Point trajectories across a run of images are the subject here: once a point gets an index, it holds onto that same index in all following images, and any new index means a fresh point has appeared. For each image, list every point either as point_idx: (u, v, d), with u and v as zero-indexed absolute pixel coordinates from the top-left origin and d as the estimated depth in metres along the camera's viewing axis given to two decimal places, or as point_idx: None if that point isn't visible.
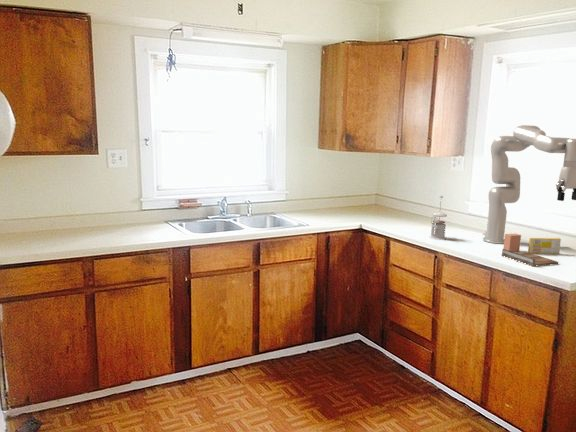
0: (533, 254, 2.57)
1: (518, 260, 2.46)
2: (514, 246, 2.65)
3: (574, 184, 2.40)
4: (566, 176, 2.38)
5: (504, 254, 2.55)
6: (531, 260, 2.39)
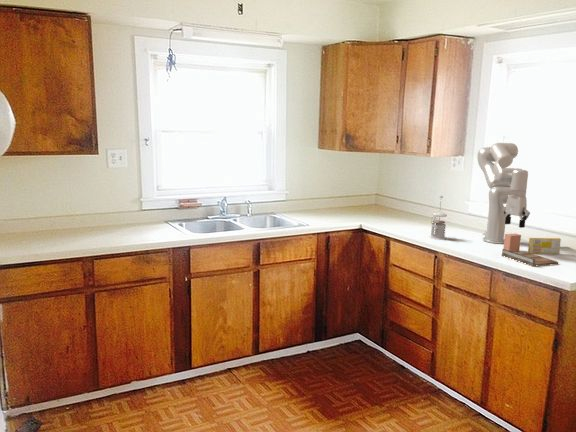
0: (533, 254, 2.57)
1: (518, 260, 2.46)
2: (514, 246, 2.65)
3: None
4: (525, 204, 2.59)
5: (504, 254, 2.55)
6: (531, 260, 2.39)
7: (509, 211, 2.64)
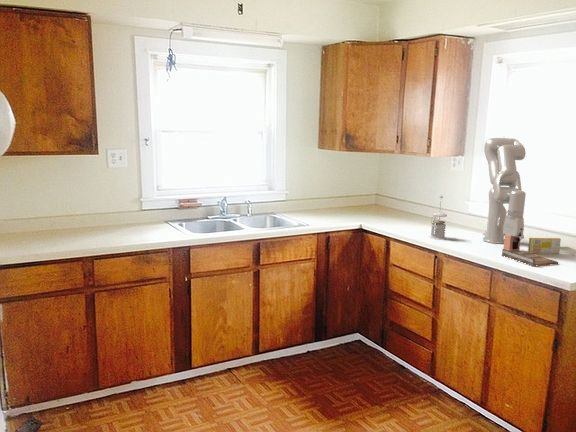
0: (533, 254, 2.57)
1: (518, 260, 2.46)
2: None
3: None
4: (523, 225, 2.61)
5: (504, 254, 2.55)
6: (531, 260, 2.39)
7: (506, 231, 2.66)
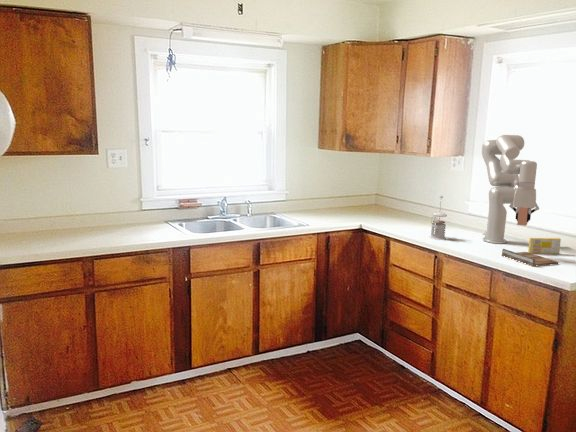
0: (533, 254, 2.57)
1: (518, 260, 2.46)
2: None
3: None
4: None
5: (504, 254, 2.55)
6: (531, 260, 2.39)
7: (520, 204, 2.54)
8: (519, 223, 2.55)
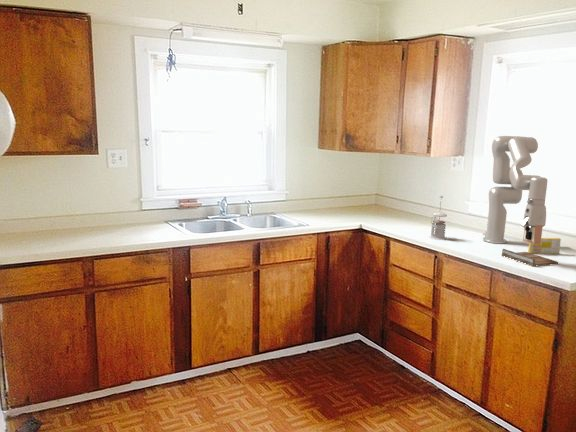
0: (533, 254, 2.57)
1: (518, 260, 2.46)
2: None
3: None
4: None
5: (504, 254, 2.55)
6: (531, 260, 2.39)
7: (535, 223, 2.44)
8: (535, 242, 2.45)
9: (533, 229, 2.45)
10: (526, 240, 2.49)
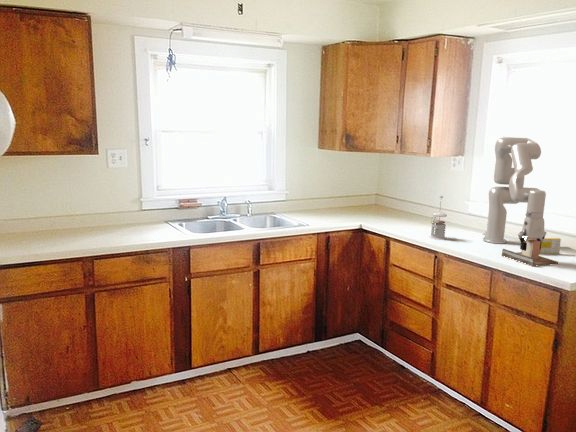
0: None
1: (518, 260, 2.46)
2: None
3: None
4: None
5: (504, 254, 2.55)
6: (531, 260, 2.39)
7: (534, 235, 2.45)
8: (533, 257, 2.47)
9: (531, 245, 2.46)
10: (524, 255, 2.51)
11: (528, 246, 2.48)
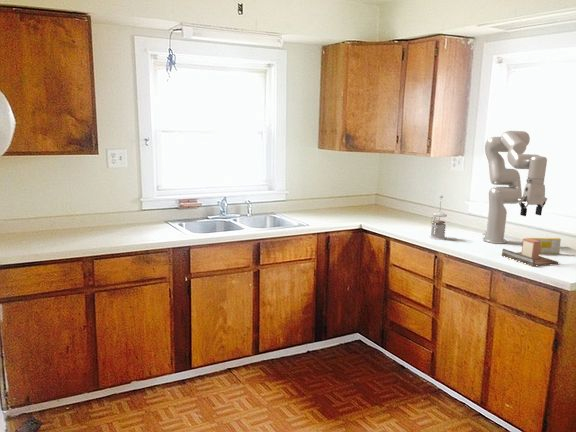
0: None
1: (518, 260, 2.46)
2: None
3: None
4: None
5: (504, 254, 2.55)
6: (531, 260, 2.39)
7: (534, 201, 2.48)
8: (533, 257, 2.47)
9: (531, 245, 2.46)
10: (524, 255, 2.51)
11: (528, 246, 2.48)
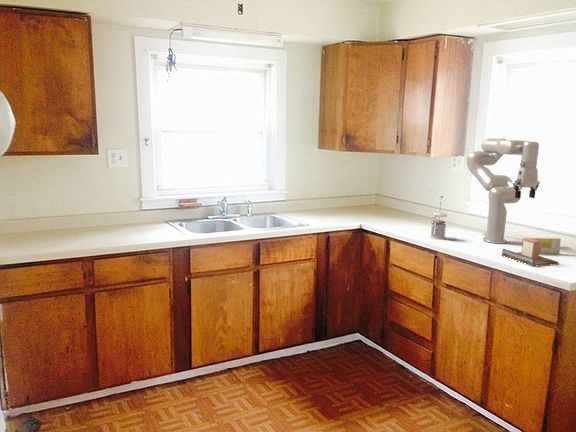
0: None
1: (518, 260, 2.46)
2: None
3: None
4: None
5: (504, 254, 2.55)
6: (531, 260, 2.39)
7: (528, 184, 2.61)
8: (533, 257, 2.47)
9: (531, 245, 2.46)
10: (524, 255, 2.51)
11: (528, 246, 2.48)
